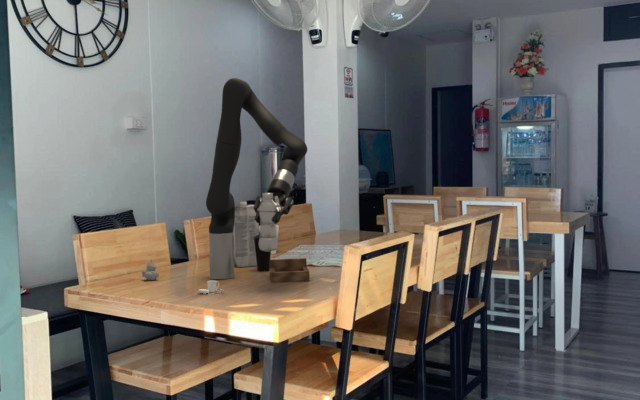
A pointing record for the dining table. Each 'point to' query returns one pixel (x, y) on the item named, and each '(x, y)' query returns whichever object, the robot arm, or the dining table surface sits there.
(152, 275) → the rubber duck
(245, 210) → the juice carton
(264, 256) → the drinking cup
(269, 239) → the plastic bottle
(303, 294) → the dining table surface
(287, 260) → the drawer
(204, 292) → the teacup and saucer
